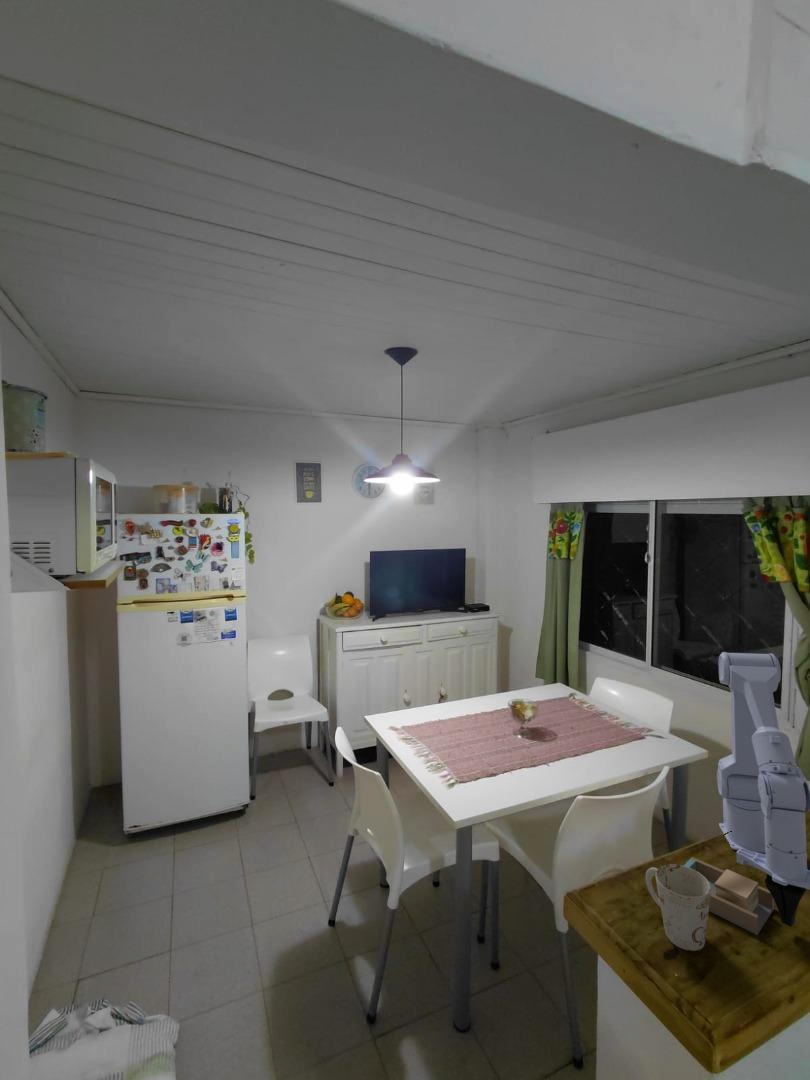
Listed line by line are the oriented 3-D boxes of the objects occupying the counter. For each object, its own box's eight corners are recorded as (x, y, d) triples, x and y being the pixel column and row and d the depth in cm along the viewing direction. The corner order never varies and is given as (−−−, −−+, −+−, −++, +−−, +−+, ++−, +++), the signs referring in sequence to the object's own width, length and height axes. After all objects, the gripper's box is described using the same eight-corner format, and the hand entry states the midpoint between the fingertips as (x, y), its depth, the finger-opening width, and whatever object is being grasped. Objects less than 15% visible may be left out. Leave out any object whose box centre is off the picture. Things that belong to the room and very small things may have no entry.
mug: (688, 964, 83) (686, 903, 83) (628, 912, 95) (626, 858, 95) (724, 946, 87) (722, 887, 86) (661, 897, 98) (659, 846, 98)
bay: (672, 892, 99) (672, 877, 99) (692, 871, 105) (692, 856, 105) (757, 935, 88) (756, 917, 88) (774, 908, 94) (773, 892, 94)
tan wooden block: (715, 904, 95) (714, 883, 95) (727, 889, 99) (726, 868, 99) (747, 920, 91) (746, 898, 91) (759, 904, 95) (758, 882, 94)
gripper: (728, 835, 91) (731, 910, 92) (833, 875, 80) (836, 960, 81) (743, 819, 96) (746, 891, 96) (844, 855, 85) (847, 936, 85)
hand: (788, 921), depth 89 cm, fingers closed
